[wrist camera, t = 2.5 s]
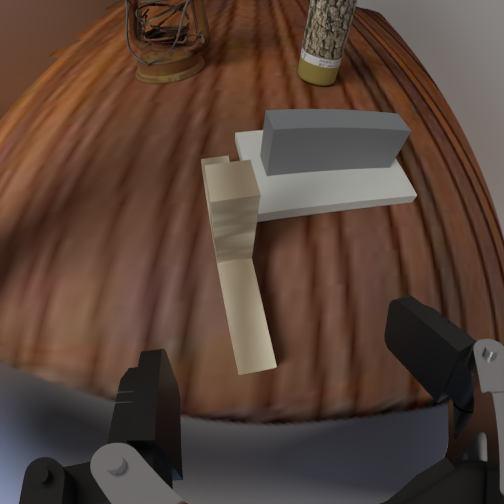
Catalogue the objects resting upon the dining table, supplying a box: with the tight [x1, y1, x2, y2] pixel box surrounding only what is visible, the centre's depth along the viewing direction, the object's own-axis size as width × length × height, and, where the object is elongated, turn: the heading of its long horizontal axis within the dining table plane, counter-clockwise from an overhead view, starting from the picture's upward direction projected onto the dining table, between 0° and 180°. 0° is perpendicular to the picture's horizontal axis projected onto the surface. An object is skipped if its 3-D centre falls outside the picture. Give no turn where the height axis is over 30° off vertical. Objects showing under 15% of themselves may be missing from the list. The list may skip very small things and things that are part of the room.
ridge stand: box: [235, 109, 417, 222], centre depth 29 cm, size 20×12×8 cm, turn 102°
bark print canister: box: [298, 0, 357, 86], centre depth 32 cm, size 7×7×25 cm
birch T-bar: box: [201, 156, 277, 375], centre depth 22 cm, size 3×22×11 cm, turn 12°
